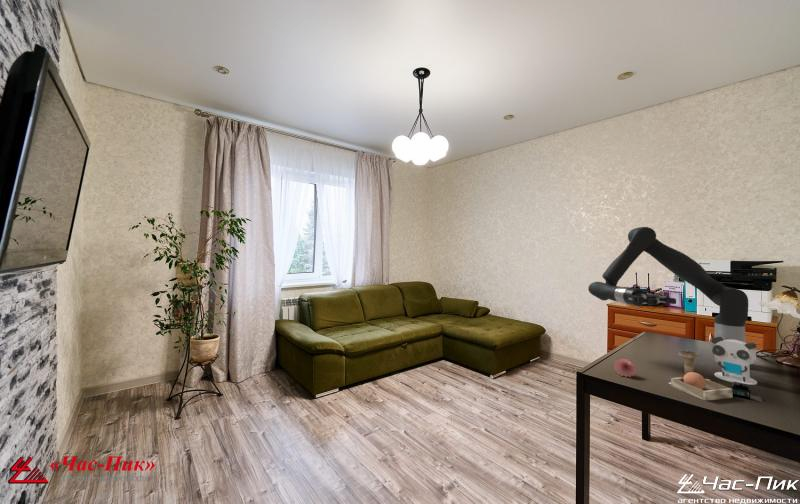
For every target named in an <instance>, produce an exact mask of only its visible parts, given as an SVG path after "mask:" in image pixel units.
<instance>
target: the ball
mask: <svg viewBox="0 0 800 504" xmlns="http://www.w3.org/2000/svg"><path fill="white" fill-rule="evenodd" d="M683 377H684V378H683V380H684V383H686V384H689V385H691V386H694V387H697V388H699V389H702V390H705V389H706V388H705V386H706V380H705V379H706V378H705V377H704V376H703V375H702V374H700V373H698V372H695V371H694V372H689V373H687V374H685V373H684V375H683Z"/></svg>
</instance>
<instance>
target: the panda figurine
mask: <svg viewBox="0 0 800 504" xmlns="http://www.w3.org/2000/svg"><path fill="white" fill-rule="evenodd" d="M710 341H711V343H712V344H713V347H712V354H713V355H714V358H715V357H716V358H717V359H718V360H719V361H721V362H717V364H718V366H719V367H720V368H721V371H718V372H715V373H714V376H715V377H716V378H718V379H720V380H722V381H726V382H729V383H733V381H734V382H739V383H744V384H748V385H749V386H755V385H758V381H757V380H755V379H754V378H751V375H750V371H751V370H750V366H751V365H752V364H754V363H755V362H756V359H757V355H756V351H755V349H756V348H757V344H756V343H755V342H749V343H747V342H746V341H745V342H742V341H738V340H723V338H722V337H715V336H714V337H712V338H711V340H710Z"/></svg>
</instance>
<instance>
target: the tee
mask: <svg viewBox="0 0 800 504" xmlns="http://www.w3.org/2000/svg"><path fill="white" fill-rule="evenodd" d="M678 356H680V357H683V358H684V359H683V360H684V362H683V363H684V364H683V366H684V371H683V372H684V375H685V374H687V373H689V372H695V371H694V370H695V369H694V368H695V367H694V363H695V359H700V353H698V352H694V351H691V350H678Z"/></svg>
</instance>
